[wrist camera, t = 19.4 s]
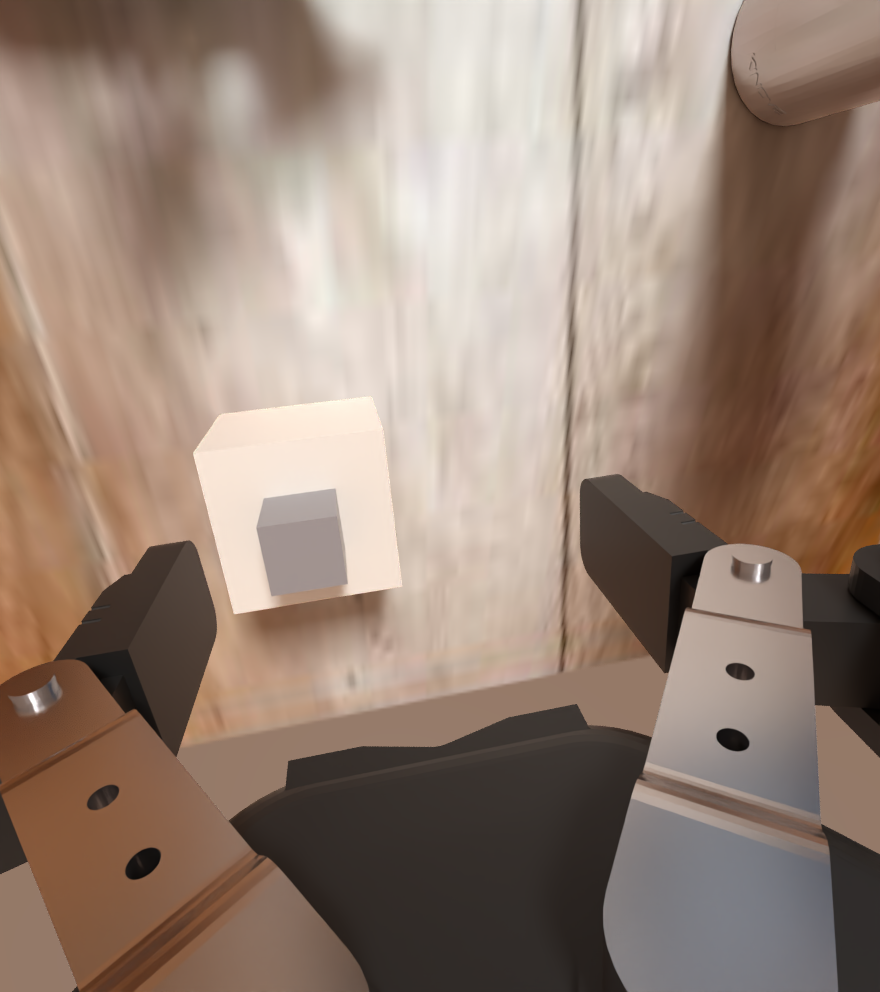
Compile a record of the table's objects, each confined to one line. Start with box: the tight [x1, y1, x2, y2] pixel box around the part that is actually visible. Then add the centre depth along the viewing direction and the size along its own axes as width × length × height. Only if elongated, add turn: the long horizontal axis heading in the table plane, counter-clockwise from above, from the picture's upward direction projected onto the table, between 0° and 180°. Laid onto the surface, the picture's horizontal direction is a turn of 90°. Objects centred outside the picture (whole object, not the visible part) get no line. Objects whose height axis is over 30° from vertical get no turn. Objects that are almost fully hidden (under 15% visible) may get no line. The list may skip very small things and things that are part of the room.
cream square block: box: [193, 396, 402, 614], centre depth 36 cm, size 10×10×13 cm
